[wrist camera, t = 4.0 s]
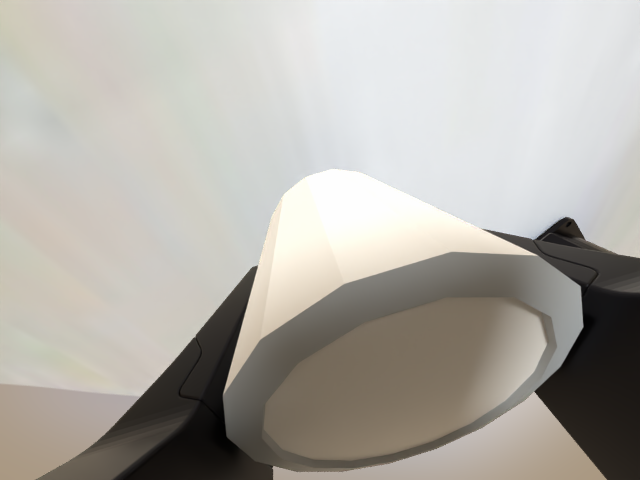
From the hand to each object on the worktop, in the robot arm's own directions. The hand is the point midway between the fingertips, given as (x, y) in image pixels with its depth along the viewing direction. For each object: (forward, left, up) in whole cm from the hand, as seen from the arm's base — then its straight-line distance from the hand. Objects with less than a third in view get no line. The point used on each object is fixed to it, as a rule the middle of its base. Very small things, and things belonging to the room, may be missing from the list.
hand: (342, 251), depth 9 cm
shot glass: (0, 0, -2) cm, 2 cm away
